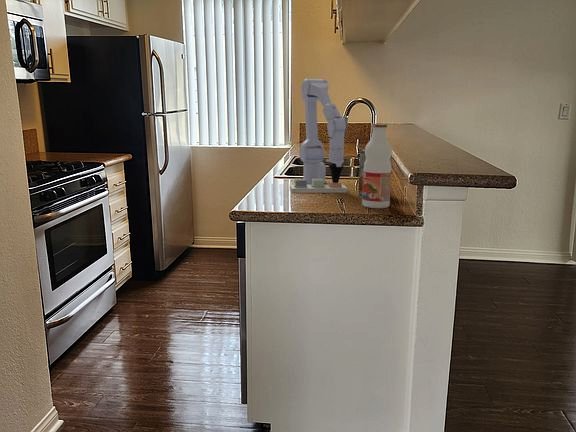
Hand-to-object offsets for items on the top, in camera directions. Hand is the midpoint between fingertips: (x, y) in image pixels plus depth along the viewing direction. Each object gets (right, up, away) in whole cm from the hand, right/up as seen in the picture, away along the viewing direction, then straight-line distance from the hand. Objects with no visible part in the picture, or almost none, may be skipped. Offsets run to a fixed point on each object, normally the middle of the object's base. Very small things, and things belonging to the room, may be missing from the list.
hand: (335, 182), depth 208 cm
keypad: (-7, -3, 0) cm, 8 cm away
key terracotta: (0, -2, +1) cm, 2 cm away
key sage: (-7, -1, 0) cm, 7 cm away
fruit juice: (+11, -10, -29) cm, 33 cm away
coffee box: (+13, -5, -8) cm, 16 cm away
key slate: (-14, -1, -1) cm, 14 cm away
